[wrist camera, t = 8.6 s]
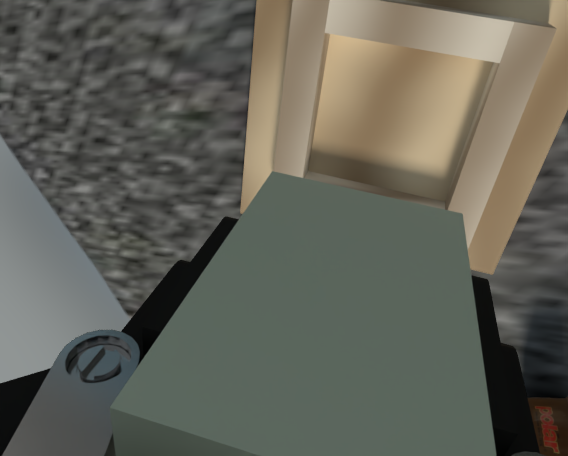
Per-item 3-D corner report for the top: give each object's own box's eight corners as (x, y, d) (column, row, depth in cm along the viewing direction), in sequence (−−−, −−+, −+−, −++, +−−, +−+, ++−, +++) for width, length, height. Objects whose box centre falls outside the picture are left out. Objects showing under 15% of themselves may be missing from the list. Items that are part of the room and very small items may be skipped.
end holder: (620, -29, 18) (644, -25, 16) (490, 264, 25) (495, 292, 23) (269, -77, 20) (250, -79, 18) (246, 204, 28) (230, 225, 26)
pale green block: (462, 213, 11) (507, 534, 5) (410, 351, 13) (398, 678, 7) (272, 171, 11) (109, 407, 5) (256, 309, 14) (131, 576, 8)
